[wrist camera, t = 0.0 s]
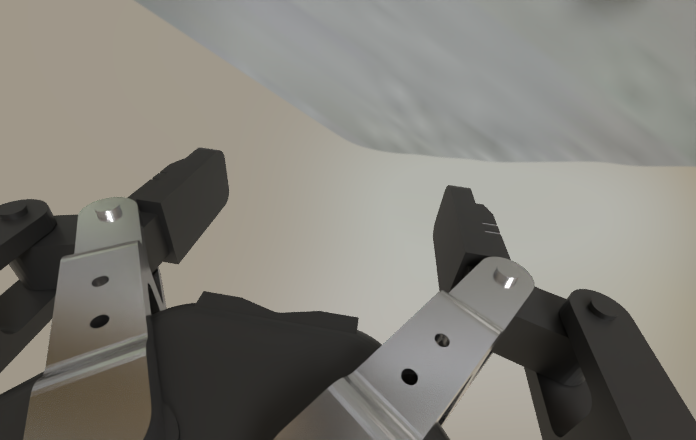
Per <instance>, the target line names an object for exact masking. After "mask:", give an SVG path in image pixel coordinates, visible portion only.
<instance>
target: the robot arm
mask: <svg viewBox="0 0 696 440" xmlns="http://www.w3.org/2000/svg"><path fill="white" fill-rule="evenodd" d="M228 196H229V186H228V179H227V173H226V164H225V158H224V154H223V152H222V151H220V150H213V149H206V148H198V149H197V150H195V151H194V152H193V153H191V154H190V155H189V156H188V157H186V158H185V159H182V160H179V161H177V162H175V163H172V164H170V165H168V166H167V167H166V168H164V169H163V170H162V171H161V172H160V173H158V174H157V175H156V176H154V177H153V179H152V180H149V181H148V182H147V183H145V184H144V185H143V186H142V187H140V188H139V189H138V190H137V191H135V192H134V193H133V194H131V195H130V196H129V197H128V198H123V197H113V198H106V199H102V200H99V201H96V202H93V203H91V204H89V205H87V206H86V207H84V208H83V209H82V210H81V211H80V213H79V215H60V216H59V215H58V216H53V214H52V212H51V210H50V208H49V206H48V205H47V204H46V203H45V202H43V201H41V200H34V199H27V200H18V201H13V202H9V203H5V204H2V205H0V270H1V269H3V268H4V267H5V266H7V265H8V264H9V265H10V267H11V268H12V270H13V271H14V272H15V274H16V275H17V277H18V278H19V280H18V281H17V282H16V283H15V284H13V285H12V286H11V287H10V288H9V289H8V290H6V291H5V292H4V293H3V294H2V295H0V373H1V371H2V370H3V369H4V368H5V367H6V366H7V365H8V364H9V363H10V362H11V361H12V360H13V359H14V358H15V357H16V356H17V355H18V354H19V353H20V352H21V351H22V350H23V348H24V347H25V346H26V345H27V344H28V343H29V342H30V341H31V340H32V339H33V338H34V337H35V336H36V335H37V334H38V333H39V332H40V331H41V330H42V329H43V327H44V326H45V325H46V324H47V323H48V322H49V321H50V320H51V319H52V325H51V332H50V339H49V346H48V353H47V361H46V367H45V371H44V372H42V373H40V374H38V375H36V376H35V377H33V378H31V379H29V380H27V381H25V382H23V383H21V384H19V385H18V386H16V387H14V388H12V389H10V390H8V391H6V392H4V393H3V394H0V440H450V439H449V437H448V436H447V434H446V433H445V431H444V430H443V428H442V426H443V424H444V423H445V421H446V420H447V418H448V417H449V416H450V414H451V413H452V411H453V410H454V408H455V407H456V405H457V404H458V402H459V401H460V399H461V398H462V396H463V395H464V393H465V392H466V390H467V389H468V388H469V386H470V385H471V383H472V382H473V381H474V379H475V378H476V376H477V375H478V373H479V372H480V370H481V369H482V368H483V366H484V365H485V364H486V362H487V361H488V359H489V358H490V357H491V355H492V354H493V353H496V354H498V355H500V356H502V357H504V358H506V359H509V360H511V361H513V362H515V363H517V364H519V365H522V366H524V369H525V372H526V376H527V380H528V384H529V388H530V392H531V396H532V400H533V404H534V408H535V412H536V416H537V419H538V423H539V428H540V431H541V435H542V439H543V440H696V421H695V419H694V418H693V416H692V414H691V413H690V411H689V409H688V408H687V406H686V405H685V403H684V401H683V400H682V398H681V397H680V395H679V393H678V392H677V390H676V389H675V387H674V385H673V384H672V382H671V381H670V379H669V377H668V375H667V374H666V372H665V371H664V369H663V367H662V366H661V364H660V362H659V361H658V359H657V358H656V356H655V354H654V353H653V351H652V350H651V348H650V346H649V345H648V343H647V341H646V340H645V338H644V336H643V335H642V333H641V332H640V330H639V328H638V327H637V325H636V323H635V322H634V320H633V319H632V317H631V316H630V314H629V313H628V312H627V311H626V310H625V309H624V308H623V307H622V306H621V305H620V304H618V303H617V302H616V301H614V300H613V299H611V298H609V297H607V296H605V295H603V294H601V293H599V292H596V291H592V290H587V289H579V290H575V291H573V292H572V293H571V294H570V296H569V297H568V298H567V299H564V298H562V297H559V296H557V295H554V294H552V293H549V292H546V291H544V290H541V289H539V288H537V287H535V286H534V280H533V278H532V276H531V275H530V274H529V273H528V271H527V270H526V269H525V268H523V267H522V266H520V265H519V264H517V263H516V262H514V261H511V259H510V257H509V254H508V252H507V249H506V247H505V244H504V242H503V239H502V237H501V235H500V232H499V229H498V226H496V225H497V224H496V221H495V219H494V216H493V214H492V213H491V212H490V211H489V210H488V209H487V208H486V207H485V206H484V205H482V204H476V203H475V200H474V197H473V194H472V191H471V189H470V188H464V187H457V186H450V185H448V186H447V187H446V190H445V192H444V195H443V199H442V202H441V205H440V208H439V211H438V215H437V217H436V221H435V225H434V231H433V241H434V249H435V257H436V265H437V273H438V282H439V290H440V292H438V293H437V294H436V295H435V296H434V297H433V298H432V299H431V300H430V301H429V302H428V303H426V304H425V306H423V307H422V308H421V309H420V310H419V311H418V312H417V313H416V314H415V315H414V316H413V317H412V318H411V319H409V320H408V321H407V322H406V323H405V324H404V325H403V326H402V327H401V328H400V329H399V330H398V331H397V332H396V333H395V334H393V335H392V336H391V337H390V338H389V339H388V340H387V341H386V342H385V343H384V344H383V345H382V344H380V343H379V342H378V341H376V340H375V339H374V338H372V337H370V336H369V335H367V334H365V333H363V332H361V331H358V330H357V326H358V318H357V317H351V316H346V315H339V314H333V313H328V312H322V311H312V312H291V313H277V312H274V311H271V310H269V309H266V308H264V307H261V306H259V305H257V304H255V303H252V302H250V301H248V300H245V299H243V298H240V297H235V296H228V295H222V294H217V293H211V292H205V291H204V292H203V293H202V295H201V296H200V298H199V300H198V301H197V303H191V304H184V305H179V306H175V307H171V308H168V309H167V308H166V303H165V296H164V291H163V285H162V279H161V273H160V270H159V267H158V266H159V265H160V264H161V263H162V262H168V263H174V264H179V263H180V261H181V260H182V259H183V258H184V257H185V255H186V254H187V253H188V251H189V250H190V249H191V248H192V246H193V245H194V244H195V243H196V241H197V240H198V239H199V238H200V236H201V235H202V234H203V232H204V231H205V230H206V229H207V227H208V226H209V225H210V224H211V222H212V221H213V220H214V219H215V217H216V216H217V215H218V213H219V212H220V211H221V210H222V208H223V207H224V206H225V204H226V202H227V200H228Z"/></svg>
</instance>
